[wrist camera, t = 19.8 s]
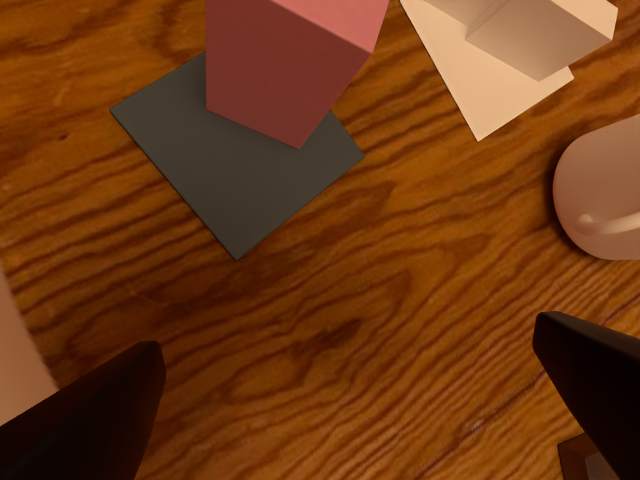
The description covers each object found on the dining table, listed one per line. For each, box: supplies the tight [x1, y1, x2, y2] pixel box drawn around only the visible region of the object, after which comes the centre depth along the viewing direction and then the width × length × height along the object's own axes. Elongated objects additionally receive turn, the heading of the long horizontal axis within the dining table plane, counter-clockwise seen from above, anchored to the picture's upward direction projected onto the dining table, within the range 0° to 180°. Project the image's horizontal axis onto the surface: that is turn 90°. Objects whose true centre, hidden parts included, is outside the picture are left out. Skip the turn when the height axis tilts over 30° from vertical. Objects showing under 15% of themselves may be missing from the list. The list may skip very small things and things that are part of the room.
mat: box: [109, 51, 365, 261], centre depth 21 cm, size 10×10×1 cm
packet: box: [206, 0, 390, 149], centre depth 16 cm, size 4×6×10 cm
